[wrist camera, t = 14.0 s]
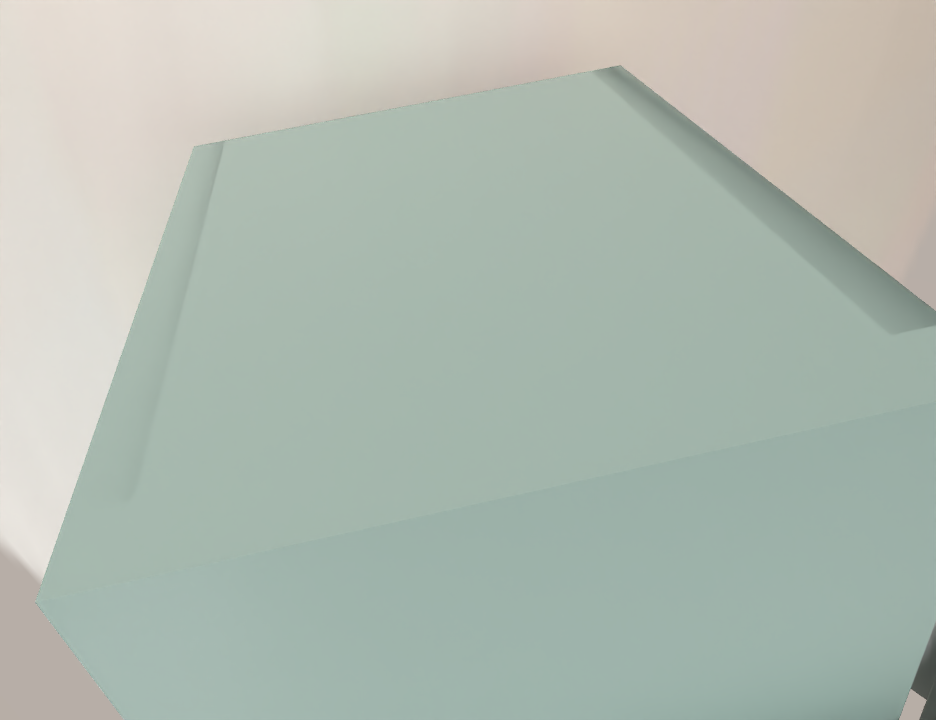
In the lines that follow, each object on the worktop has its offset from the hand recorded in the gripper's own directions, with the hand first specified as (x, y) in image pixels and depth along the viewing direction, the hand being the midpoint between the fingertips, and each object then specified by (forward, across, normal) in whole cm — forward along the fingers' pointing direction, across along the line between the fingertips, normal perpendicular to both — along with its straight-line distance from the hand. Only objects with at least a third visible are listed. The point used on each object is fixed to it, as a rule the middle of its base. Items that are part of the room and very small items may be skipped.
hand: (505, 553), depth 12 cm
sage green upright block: (+4, 0, 0) cm, 4 cm away
